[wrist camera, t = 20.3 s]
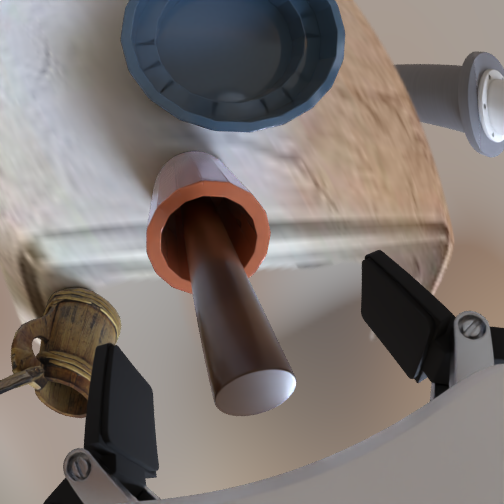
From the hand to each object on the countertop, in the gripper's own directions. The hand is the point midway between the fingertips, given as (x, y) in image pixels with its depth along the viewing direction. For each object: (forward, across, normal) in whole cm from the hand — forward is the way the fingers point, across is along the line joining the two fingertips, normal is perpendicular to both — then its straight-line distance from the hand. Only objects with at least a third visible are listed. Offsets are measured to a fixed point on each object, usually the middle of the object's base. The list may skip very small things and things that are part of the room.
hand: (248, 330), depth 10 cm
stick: (+17, +1, 0) cm, 17 cm away
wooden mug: (+18, +18, +7) cm, 26 cm away
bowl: (+18, -5, -12) cm, 22 cm away
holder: (+18, +1, 0) cm, 18 cm away
